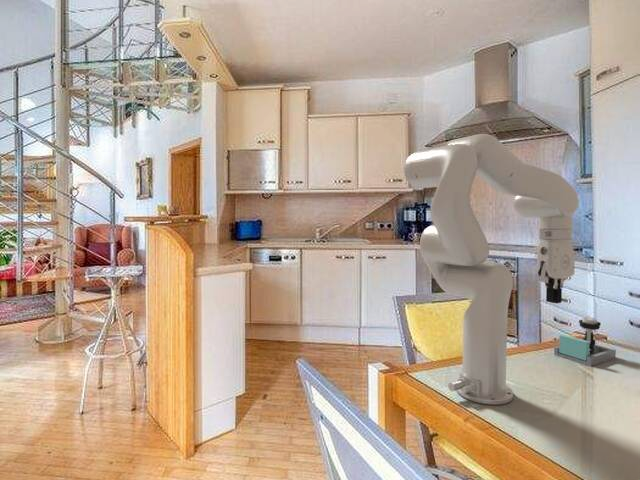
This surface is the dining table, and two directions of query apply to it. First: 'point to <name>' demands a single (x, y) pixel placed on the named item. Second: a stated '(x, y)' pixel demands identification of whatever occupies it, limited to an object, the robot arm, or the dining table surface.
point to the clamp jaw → (573, 347)
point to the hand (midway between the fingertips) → (553, 302)
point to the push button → (589, 330)
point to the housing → (591, 355)
